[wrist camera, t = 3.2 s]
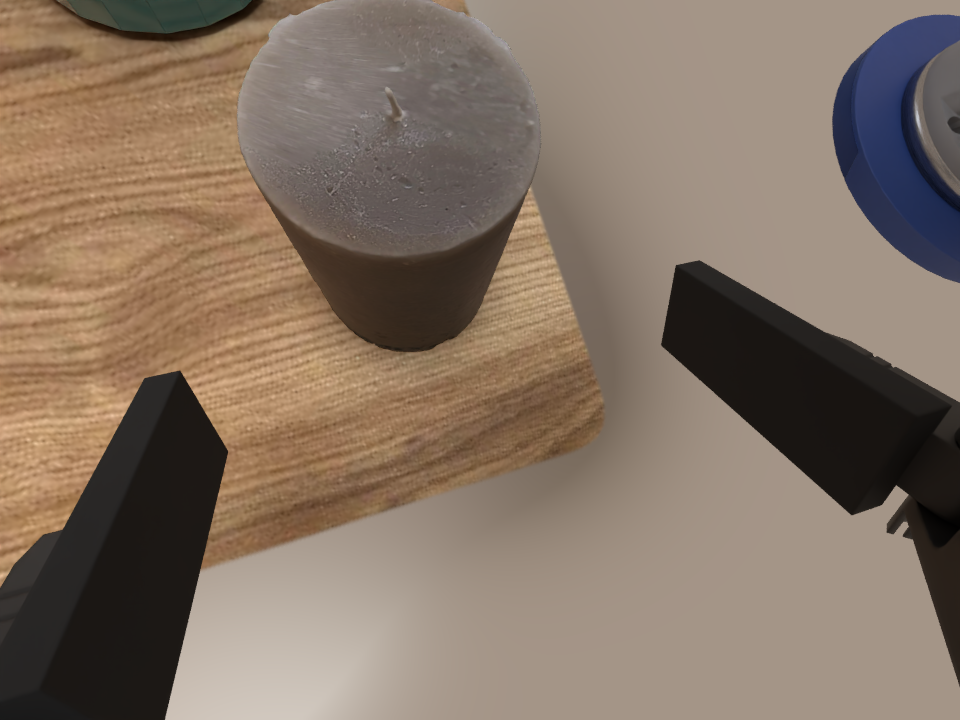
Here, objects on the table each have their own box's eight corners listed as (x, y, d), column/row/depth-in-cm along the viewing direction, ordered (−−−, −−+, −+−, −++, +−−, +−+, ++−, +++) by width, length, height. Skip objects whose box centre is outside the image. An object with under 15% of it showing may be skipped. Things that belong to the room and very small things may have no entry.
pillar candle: (431, 383, 27) (447, 309, 12) (290, 293, 27) (132, 109, 12) (514, 255, 29) (613, 61, 14) (384, 171, 29) (349, -111, 14)
